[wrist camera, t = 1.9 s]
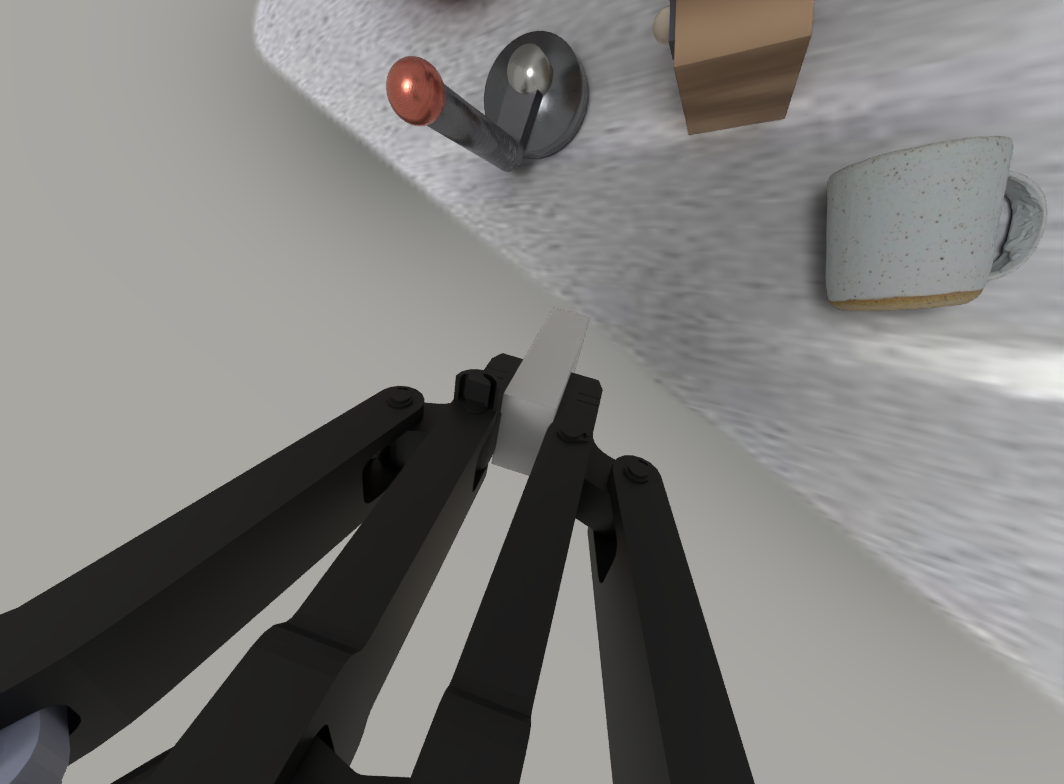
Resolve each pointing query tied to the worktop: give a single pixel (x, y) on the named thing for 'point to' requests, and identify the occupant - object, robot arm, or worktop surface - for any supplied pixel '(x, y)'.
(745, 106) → the walnut stand
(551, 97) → the lever with red knob
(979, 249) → the ceramic mug
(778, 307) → the worktop surface
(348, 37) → the worktop surface
